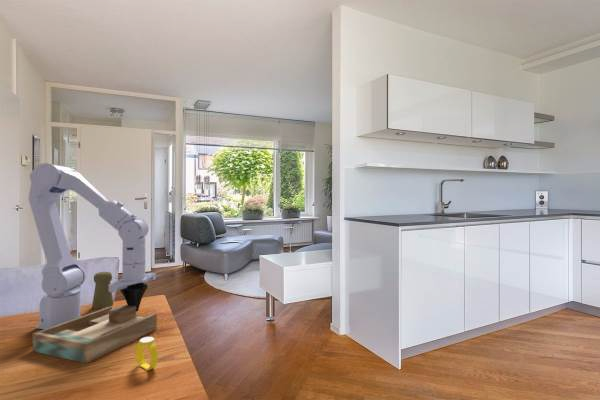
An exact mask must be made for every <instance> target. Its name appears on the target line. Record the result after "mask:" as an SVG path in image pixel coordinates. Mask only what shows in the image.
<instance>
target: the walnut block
mask: <svg viewBox="0 0 600 400" xmlns="http://www.w3.org/2000/svg"><path fill="white" fill-rule="evenodd" d="M136 316H137V312H136V306H131V305H127V304H122V305H120V306H118V307H115V308H112V309H111V310H109V322H113V323H119V324H121V323H123V322H126V321H128V320H131V319H133V318H135V317H136Z"/></svg>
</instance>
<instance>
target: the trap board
mask: <svg viewBox="0 0 600 400" xmlns="http://www.w3.org/2000/svg"><path fill="white" fill-rule="evenodd" d="M112 307H113V306H112ZM112 307H107V308H104V309H97V310H96V311H93V312H90V313H87V314H85V315H80V317H78V318H75V319H73V320H70V321H67V322H64V323H61V324H58V325H55V326H53V327H50V328H47V329H40V330H39V331H35V332H33V333H32V338H31V339H32V340H31V341H32V342H31V343H32V345H31V346H32V348H31V349H32V352H36V353H39V354H44V355H48V356H52V357H58V358H61V359H66V360H70V361H74V362H75V361H76V362H80V363H83V364H88V363H89V364H90V363H91V362H93V361H95V360H97V359H99V358H102V357H103V356H104V355H106V354H109V353H111V352H113V351H115V350H117V349H119V348H121V347H122V346H125V345H126V344H129V343H131V342H133V341H136V340H137V339H139V338H141V337H142V336H145V335H147V334H148V333H151V332H153V331H155V330H157V329H158V325H157V324H158V317H157V316H158V314H157V313H155V312H154V313H151V314H150V315H147V316H144V317H143V316H137V315H136V317H135V318H133V319H131V320H128V321H126V322H123V323H121V324H119V323H113V322H109V310H111V309H113V308H112Z"/></svg>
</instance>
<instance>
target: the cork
mask: <svg viewBox="0 0 600 400" xmlns="http://www.w3.org/2000/svg"><path fill="white" fill-rule="evenodd" d="M112 280H113V273H112V272H110V271H99V272H97V273H95V274H94V276H93V282H94V283H95V285H94V293H93V298H92V299H93V300H92V305H91V309H93V308H95V309H94V310H101V309H100V308H106V307H110V306H112V305H113V304H114V299H113V292H109V284H111V282H112ZM113 306H114V305H113ZM113 306H112V307H113Z"/></svg>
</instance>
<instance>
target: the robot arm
mask: <svg viewBox="0 0 600 400" xmlns="http://www.w3.org/2000/svg"><path fill="white" fill-rule="evenodd" d="M29 179H30V182H31V183H30V188H29V193H28V202H29V205H30V208H31V212H32V216H33V219H34V222H35V226H36V230H37V232H38V236H39V239H40V243H41V247H42V250H43V253H44V257H45V260H46V263H45V265H44V266H43V268H42V270H41V275H42V280H41V289H42V290H43V293H45V294H44V295H43V296H42V298H41V299H40V302H39V306H38V307H39V308H38V309H39V312H38V313H39V324H38V325H36V326H35V328H36V329H40V330H44V329H47V328H50V327H53V326H55V325H58V324H61V323H64V322H67V321H70V320H73V319H75V318H78V317H81V288H82V287H81V286H82V285H83V284H84V283H85V281H86V271H85V270H84V268H82V267H81V266H80V263H79V261H78V260H77V259H76V258H75V257H74V256H72V255H71V250H70V248H69V244H68V241H67V237H66V233H65V230H64V227H63V223H62V221H61V217H60V213H59V210H58V205H57V202H56V201H57V200H58V199H59V197H60V196H61V195H62V194H64V193H65V192H66V191H73V192H75V193H76V194H78V195H79V196H80V197H82V198H83V199H84V200H86V201H87V202H89V203H90V204H91V205H93V206H94V207H95V208H97V210H98V216H99V217H100V218H101V219H102V220H103V221H105V222H106V223H107V224H109V225H110V226H111V227H113V229H115V230H116V231H118V236H119V237H120V239H121V240H122V250H121V251H122V254H121V255H122V261H121V263H122V270H121V272H122V274H121V275H122V278H121V279H119V280H116V281H114V282H112V283H110V284H109V292H112V293H117V292H118V291H120V292H121V294H122V296H123V297H124V300H125V302H126V305H131V306H136V313H137V312H139V308H140V306H141V302H142V299H143V296H144V294H145V292H146V290H147V289H148V284H146V283H147V282H150V281H155V280H156V279H157V277H156V275H157V274H156V272H148V273H146V236H147V235H148V232H149V226H148V224H147V222H146V221H145V220H144V219H142V218H140V217H139V218H137V215H136V214H135V213H131V212H130V211H129V210H128V209H126V208H125V207H124V205H125V204H124V203H123V202H122V201H117V200H115V199H114V200H108V198H106V197H105V195H103V194H102V193H101V192H100V190H99V191H98V189H96V188H95V187H94V186H93V185H92V184H91V183H90V182H89V181H88V180H87V179H85V177H84V176H83V175H82V174H81V173H80V172H78V171H76V169H74V168H73V167H71V166H69V165H67V166H66V165H58V164H57V165H56V164H53V163H49V162H44V163H40V164H38V165H36V166H35V168H34V169H33V170H32V171H31V172H30V173H29Z"/></svg>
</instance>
